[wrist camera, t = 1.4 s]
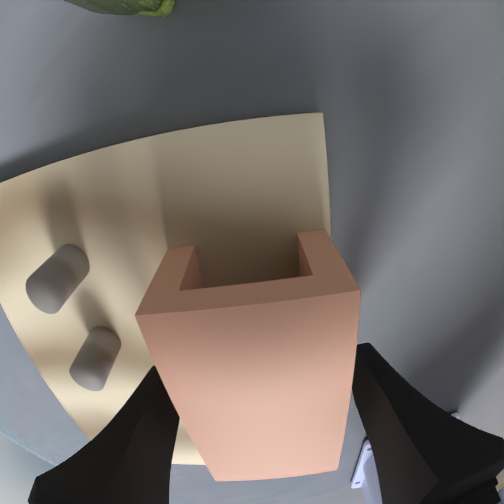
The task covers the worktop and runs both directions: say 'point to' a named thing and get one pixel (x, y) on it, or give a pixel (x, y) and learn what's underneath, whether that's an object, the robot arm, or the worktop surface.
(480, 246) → the worktop surface
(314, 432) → the pink channel block
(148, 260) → the board
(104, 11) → the vegetable
